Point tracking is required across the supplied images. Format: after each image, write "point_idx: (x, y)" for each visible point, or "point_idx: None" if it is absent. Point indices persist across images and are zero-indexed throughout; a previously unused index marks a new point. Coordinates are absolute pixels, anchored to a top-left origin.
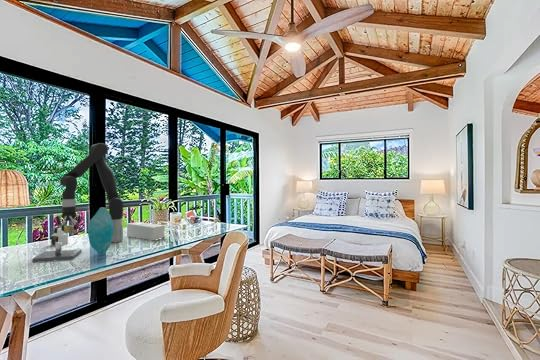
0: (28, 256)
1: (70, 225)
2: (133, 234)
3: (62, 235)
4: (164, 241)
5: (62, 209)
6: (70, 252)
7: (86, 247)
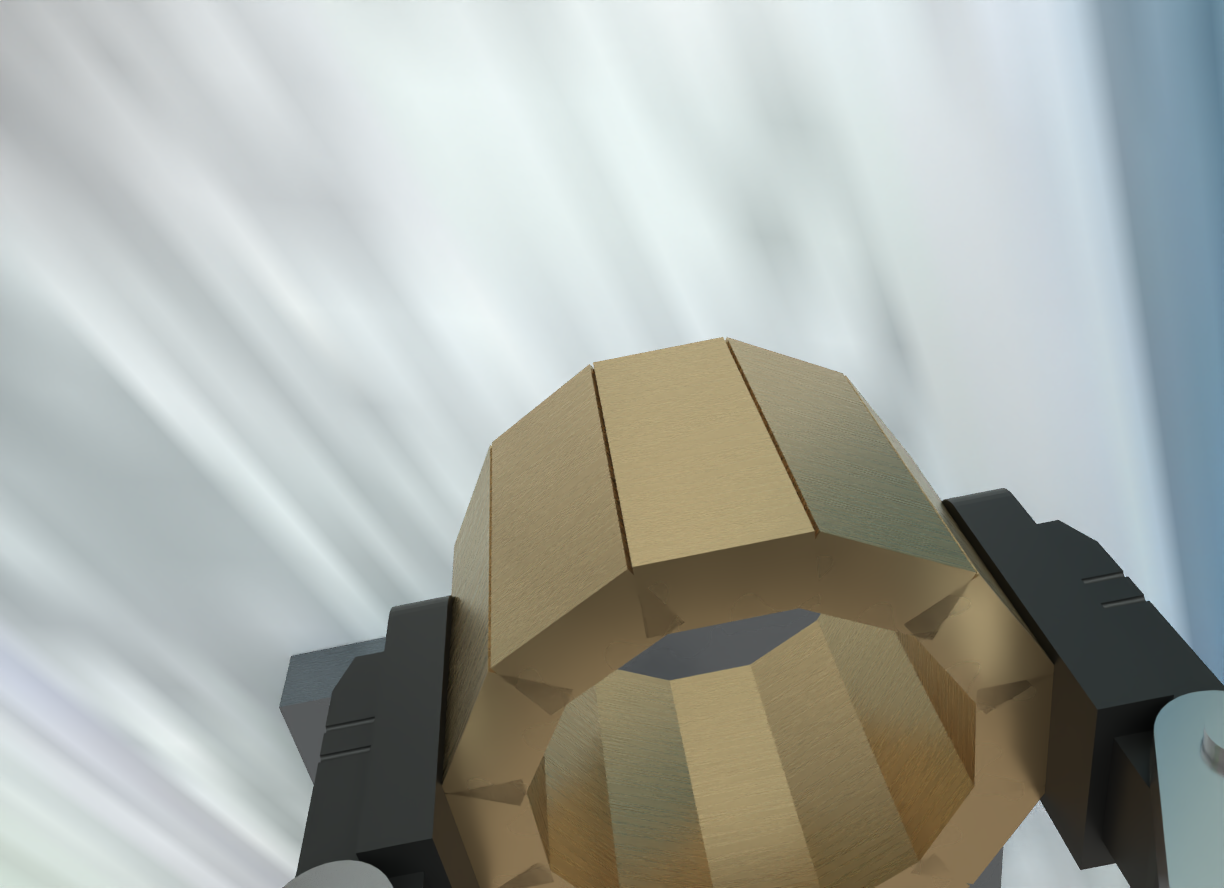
0: (57, 754)
1: (715, 579)
2: None
3: None
4: None
5: None
6: None
7: (986, 40)
